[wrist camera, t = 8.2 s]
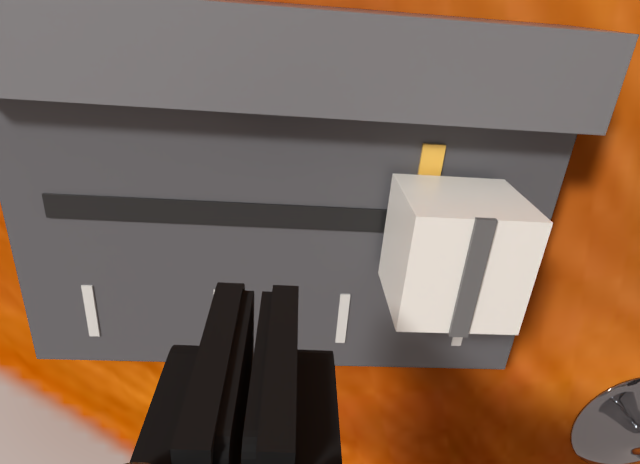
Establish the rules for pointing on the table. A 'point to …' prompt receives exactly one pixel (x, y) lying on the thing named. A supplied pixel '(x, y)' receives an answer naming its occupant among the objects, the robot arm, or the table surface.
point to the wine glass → (610, 426)
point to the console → (264, 159)
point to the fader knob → (460, 254)
